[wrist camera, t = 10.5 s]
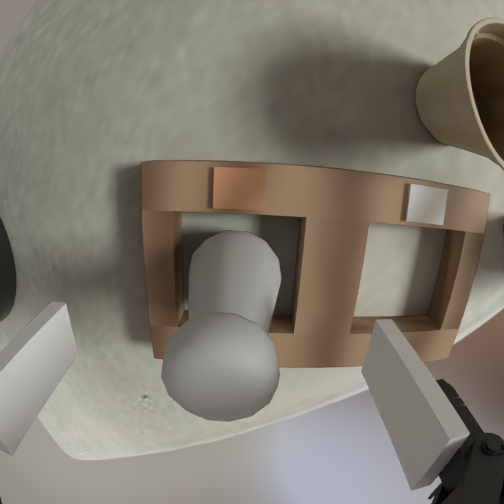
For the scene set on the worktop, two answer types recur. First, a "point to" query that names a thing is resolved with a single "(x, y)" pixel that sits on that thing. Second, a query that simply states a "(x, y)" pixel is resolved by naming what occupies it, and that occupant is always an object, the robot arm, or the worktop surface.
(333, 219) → the socket board
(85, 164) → the worktop surface
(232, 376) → the salt shaker
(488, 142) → the flower pot
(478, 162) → the worktop surface
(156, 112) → the worktop surface
